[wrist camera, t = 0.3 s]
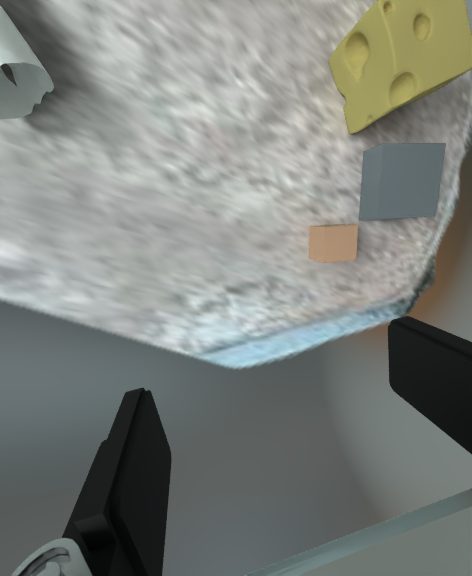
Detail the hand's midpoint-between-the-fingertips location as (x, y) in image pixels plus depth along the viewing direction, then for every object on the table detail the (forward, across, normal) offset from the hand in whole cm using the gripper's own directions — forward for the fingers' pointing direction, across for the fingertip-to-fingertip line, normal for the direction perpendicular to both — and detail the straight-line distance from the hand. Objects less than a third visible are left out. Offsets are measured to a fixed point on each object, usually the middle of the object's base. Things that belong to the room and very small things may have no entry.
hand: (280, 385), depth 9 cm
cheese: (+30, -27, -21) cm, 46 cm away
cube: (+30, -18, 0) cm, 35 cm away
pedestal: (+30, -30, -6) cm, 43 cm away
